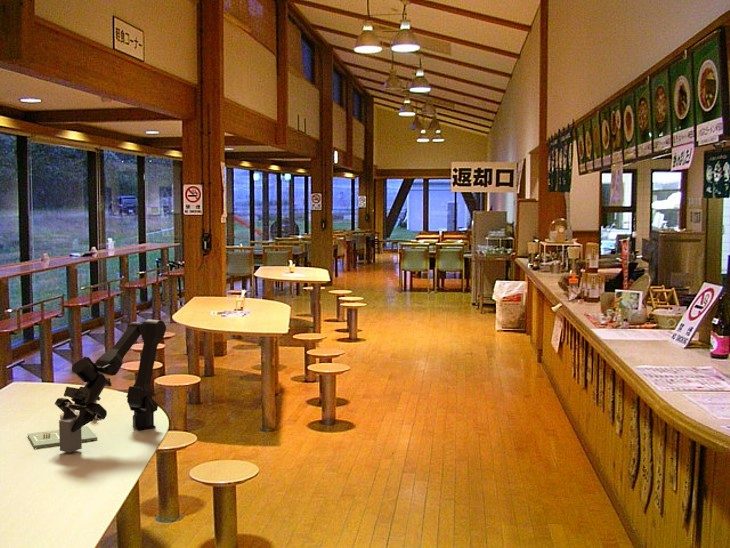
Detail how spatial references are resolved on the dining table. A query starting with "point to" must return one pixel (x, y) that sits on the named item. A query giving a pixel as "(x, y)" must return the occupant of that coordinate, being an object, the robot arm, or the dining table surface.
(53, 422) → the dining table surface
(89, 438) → the board
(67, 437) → the plug block
